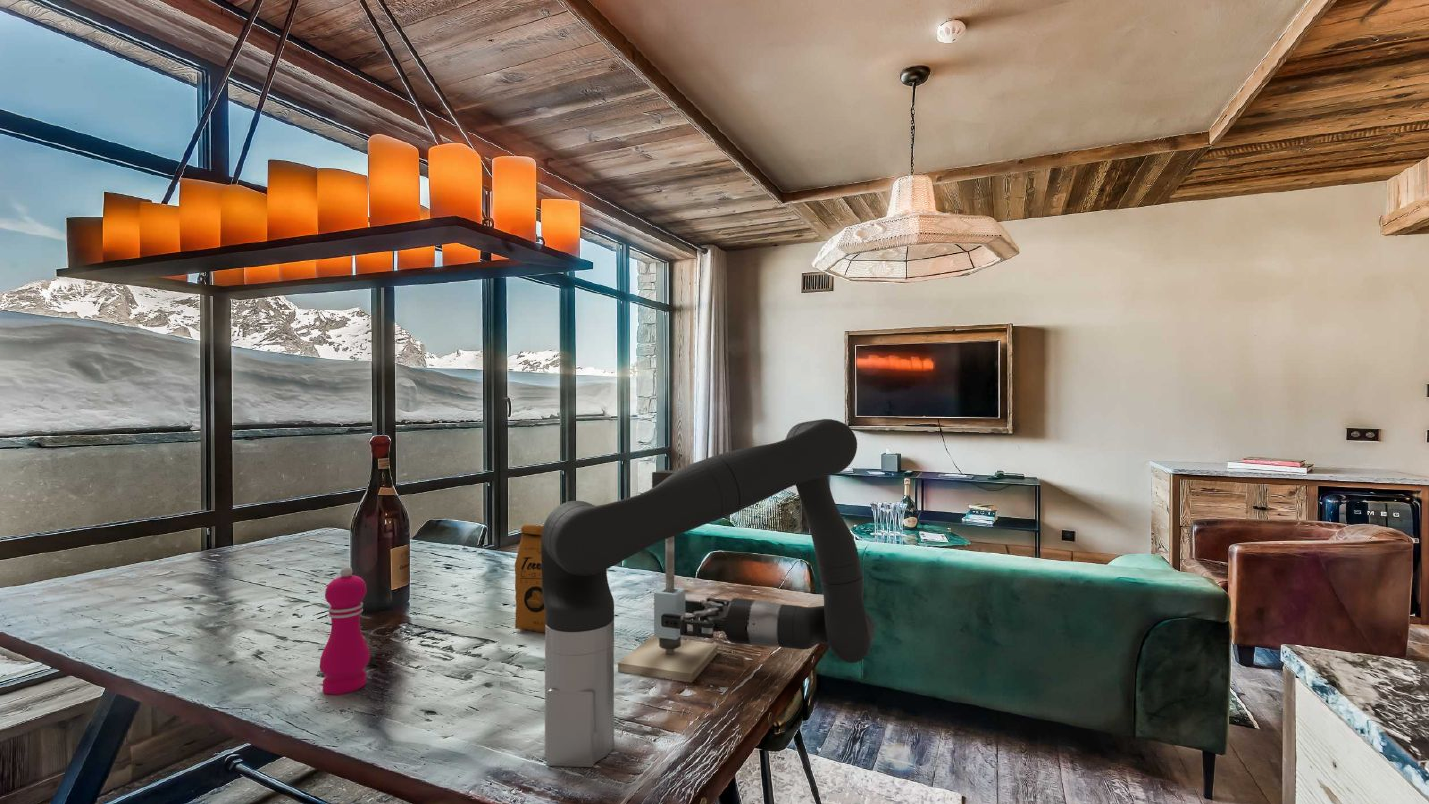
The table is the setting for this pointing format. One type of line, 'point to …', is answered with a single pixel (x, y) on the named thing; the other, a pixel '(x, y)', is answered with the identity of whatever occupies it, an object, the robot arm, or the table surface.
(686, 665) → the rod stand
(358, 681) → the pepper mill
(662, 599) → the sleeve
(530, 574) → the coffee package
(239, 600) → the table surface
